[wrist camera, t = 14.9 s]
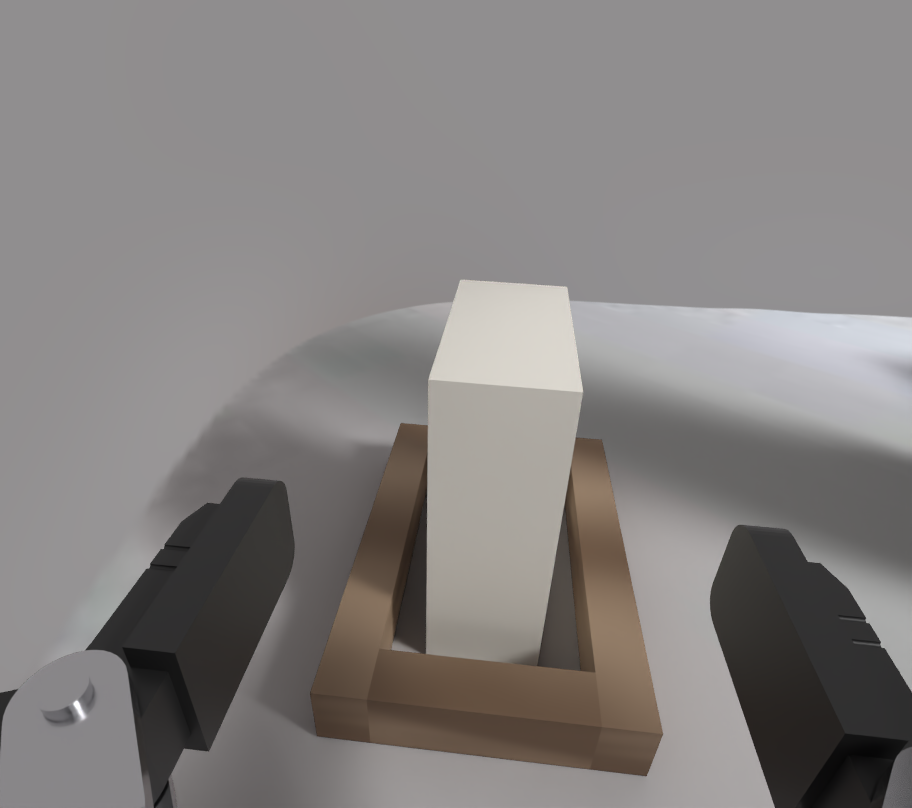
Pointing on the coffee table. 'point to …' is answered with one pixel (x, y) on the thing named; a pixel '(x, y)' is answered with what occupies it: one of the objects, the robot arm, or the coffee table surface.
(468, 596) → the key block
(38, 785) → the robot arm
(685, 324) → the coffee table surface
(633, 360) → the coffee table surface
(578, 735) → the frame
